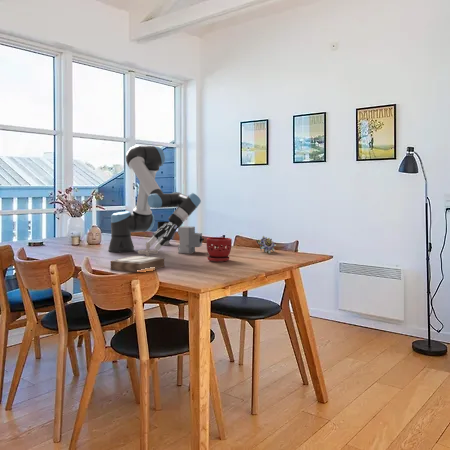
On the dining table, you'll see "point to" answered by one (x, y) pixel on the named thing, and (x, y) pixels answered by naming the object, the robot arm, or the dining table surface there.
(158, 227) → the grey travel mug
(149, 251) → the pipe connector
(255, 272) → the dining table surface
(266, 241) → the passion flower
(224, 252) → the plant pot
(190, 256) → the dining table surface
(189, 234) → the circuit breaker
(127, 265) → the stand
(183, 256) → the dining table surface
